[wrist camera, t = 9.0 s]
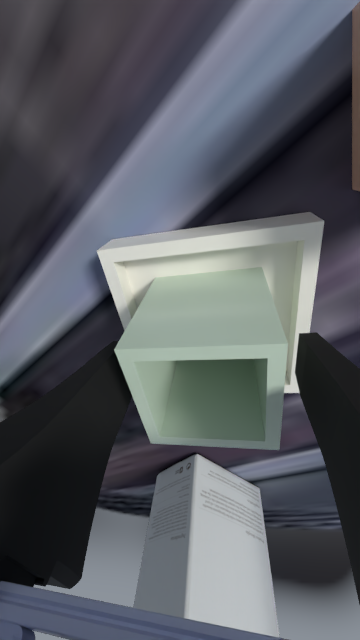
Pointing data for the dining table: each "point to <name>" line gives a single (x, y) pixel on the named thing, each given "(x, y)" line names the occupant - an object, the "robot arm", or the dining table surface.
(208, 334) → the pot green
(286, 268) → the tray
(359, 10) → the pot terracotta
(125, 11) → the dining table surface
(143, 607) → the skincare box
